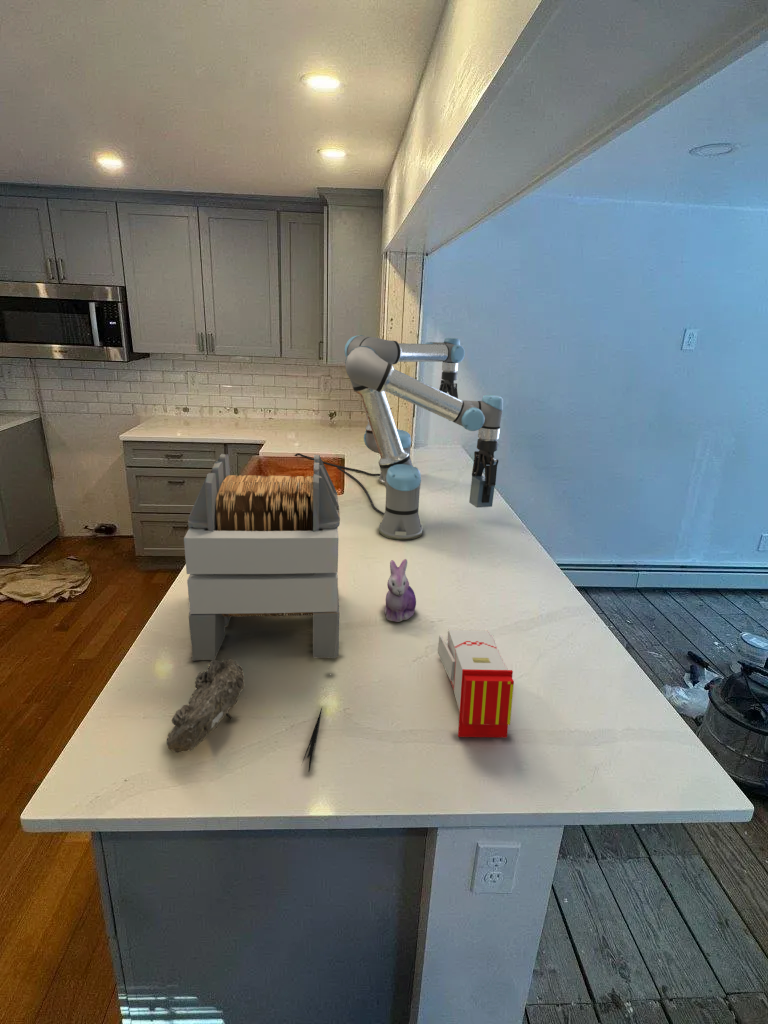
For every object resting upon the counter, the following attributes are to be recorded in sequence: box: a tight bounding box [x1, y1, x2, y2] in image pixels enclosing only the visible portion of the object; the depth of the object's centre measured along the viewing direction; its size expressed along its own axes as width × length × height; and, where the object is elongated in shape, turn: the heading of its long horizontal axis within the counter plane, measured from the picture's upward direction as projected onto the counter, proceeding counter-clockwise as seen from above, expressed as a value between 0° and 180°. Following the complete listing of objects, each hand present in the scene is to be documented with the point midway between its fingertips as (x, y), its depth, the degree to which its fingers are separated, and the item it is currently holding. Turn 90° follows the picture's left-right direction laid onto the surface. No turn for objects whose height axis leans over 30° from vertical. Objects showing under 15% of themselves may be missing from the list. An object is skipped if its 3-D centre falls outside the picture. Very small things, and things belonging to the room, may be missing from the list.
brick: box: [468, 475, 496, 509], centre depth 212 cm, size 6×6×10 cm
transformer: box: [183, 453, 341, 662], centre depth 134 cm, size 34×33×41 cm
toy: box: [437, 628, 515, 738], centre depth 117 cm, size 12×13×30 cm
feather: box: [301, 673, 332, 771], centre depth 108 cm, size 2×28×2 cm
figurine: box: [384, 558, 417, 623], centre depth 145 cm, size 9×10×15 cm
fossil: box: [166, 658, 245, 754], centre depth 106 cm, size 22×10×15 cm
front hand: (480, 499), depth 213 cm, fingers closed on brick, 6 cm apart
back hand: (446, 415), depth 280 cm, fingers open, 13 cm apart
